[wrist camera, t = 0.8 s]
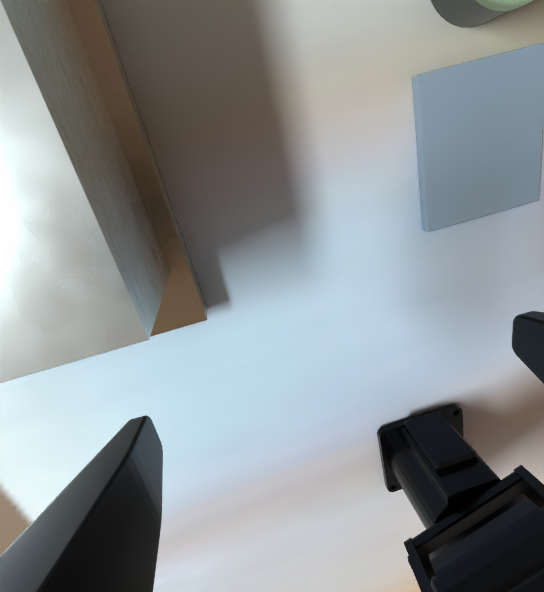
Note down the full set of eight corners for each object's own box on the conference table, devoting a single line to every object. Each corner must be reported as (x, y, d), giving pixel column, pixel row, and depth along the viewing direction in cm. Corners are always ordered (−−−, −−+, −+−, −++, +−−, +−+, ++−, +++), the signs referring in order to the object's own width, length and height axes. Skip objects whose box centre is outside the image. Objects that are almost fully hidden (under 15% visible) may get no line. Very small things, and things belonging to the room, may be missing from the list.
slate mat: (530, 199, 22) (539, 200, 21) (423, 230, 21) (428, 231, 21) (538, 44, 18) (548, 41, 18) (412, 77, 18) (418, 74, 17)
